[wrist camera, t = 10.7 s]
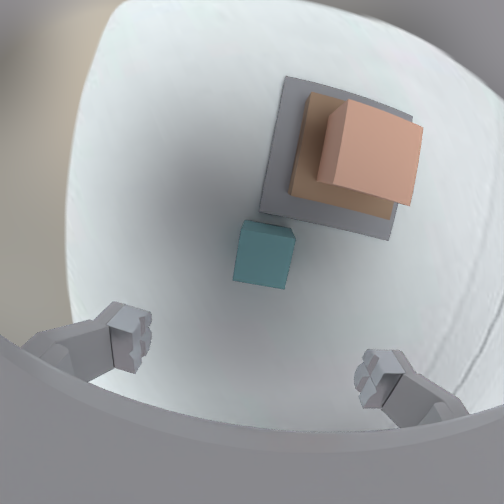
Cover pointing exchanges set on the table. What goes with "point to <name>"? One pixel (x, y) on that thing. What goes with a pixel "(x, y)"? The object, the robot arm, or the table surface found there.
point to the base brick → (309, 162)
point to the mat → (283, 160)
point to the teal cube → (264, 254)
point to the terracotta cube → (371, 152)
